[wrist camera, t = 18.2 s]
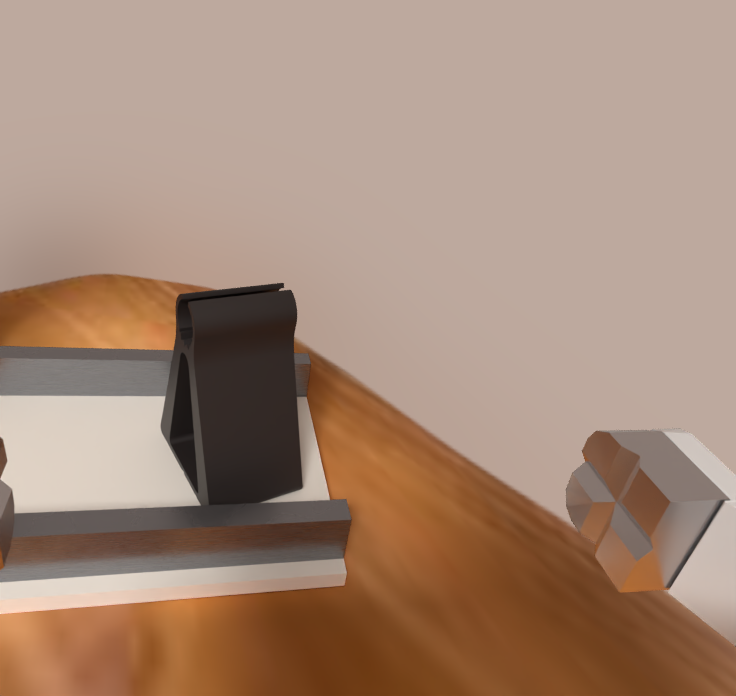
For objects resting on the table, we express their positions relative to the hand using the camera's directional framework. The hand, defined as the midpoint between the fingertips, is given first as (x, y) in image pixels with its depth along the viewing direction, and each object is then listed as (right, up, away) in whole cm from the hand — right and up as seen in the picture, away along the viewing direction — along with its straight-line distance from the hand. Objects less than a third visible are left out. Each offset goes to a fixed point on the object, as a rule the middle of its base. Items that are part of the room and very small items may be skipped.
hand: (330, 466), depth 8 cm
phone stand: (-9, -6, +30) cm, 32 cm away
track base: (-13, -6, +29) cm, 33 cm away
